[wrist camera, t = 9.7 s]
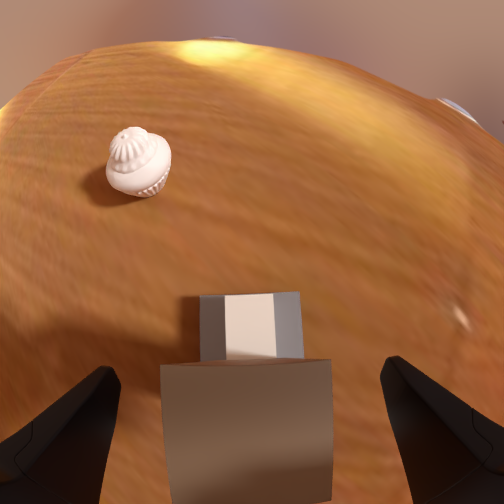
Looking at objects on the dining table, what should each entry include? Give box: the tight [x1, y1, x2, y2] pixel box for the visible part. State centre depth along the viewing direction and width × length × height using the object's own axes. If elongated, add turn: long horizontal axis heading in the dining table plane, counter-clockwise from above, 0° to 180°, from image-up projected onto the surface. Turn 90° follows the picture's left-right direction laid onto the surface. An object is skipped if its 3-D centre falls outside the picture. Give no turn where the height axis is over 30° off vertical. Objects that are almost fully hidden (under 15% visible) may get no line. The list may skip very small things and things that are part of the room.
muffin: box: [106, 127, 171, 198], centre depth 21 cm, size 6×6×7 cm
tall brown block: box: [160, 358, 333, 504], centre depth 10 cm, size 4×4×10 cm
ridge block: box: [200, 291, 304, 362], centre depth 17 cm, size 13×7×4 cm, turn 2°
